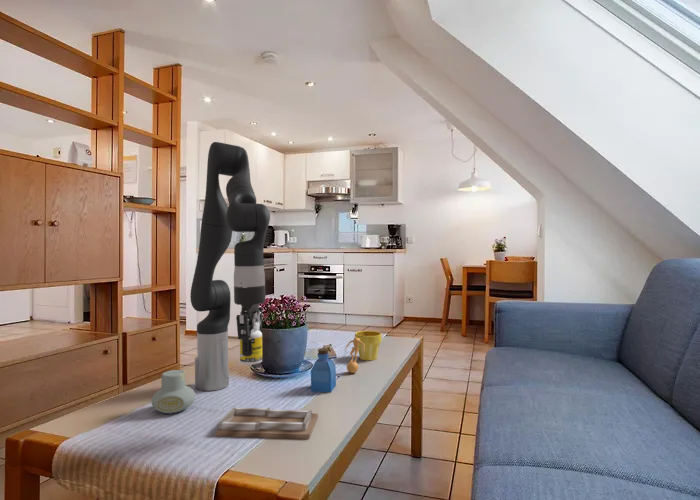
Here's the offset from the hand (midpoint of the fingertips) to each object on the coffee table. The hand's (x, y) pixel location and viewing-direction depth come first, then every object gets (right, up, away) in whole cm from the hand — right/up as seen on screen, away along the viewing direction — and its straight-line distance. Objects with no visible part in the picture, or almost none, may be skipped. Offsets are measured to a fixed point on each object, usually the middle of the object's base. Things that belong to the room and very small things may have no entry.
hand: (251, 352), depth 106 cm
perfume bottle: (+16, -17, +25) cm, 35 cm away
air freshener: (-23, -18, +10) cm, 31 cm away
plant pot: (+32, -17, +59) cm, 69 cm away
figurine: (+26, -17, +41) cm, 52 cm away
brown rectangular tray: (+5, -18, -2) cm, 18 cm away
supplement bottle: (0, -3, 0) cm, 3 cm away
